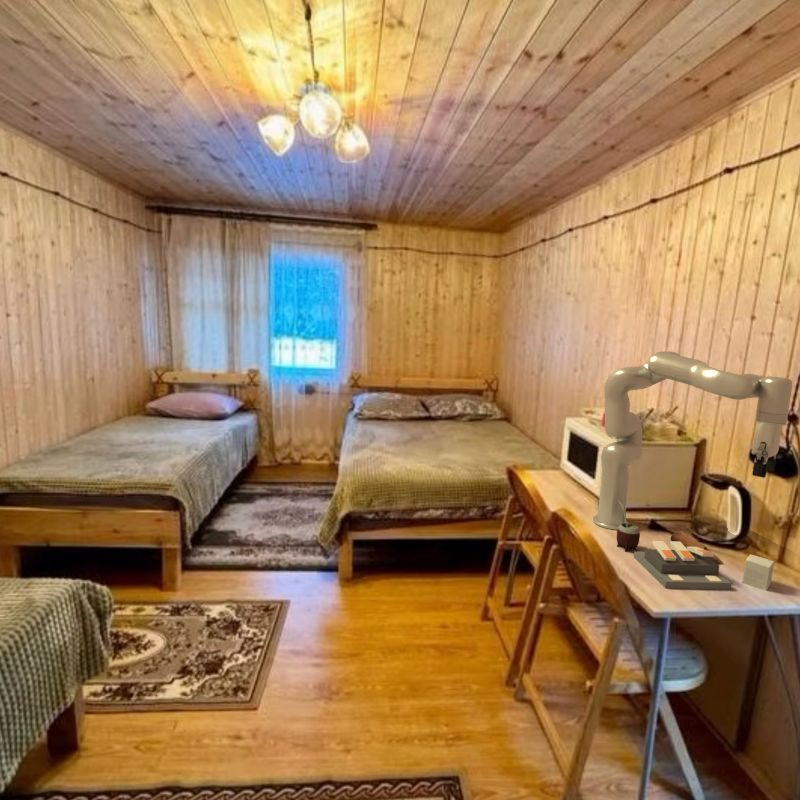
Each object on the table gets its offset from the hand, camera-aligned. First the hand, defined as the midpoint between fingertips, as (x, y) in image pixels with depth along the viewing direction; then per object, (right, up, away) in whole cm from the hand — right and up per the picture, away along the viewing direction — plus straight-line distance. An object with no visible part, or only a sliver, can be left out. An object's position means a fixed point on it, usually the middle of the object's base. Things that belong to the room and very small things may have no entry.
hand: (763, 473), depth 151 cm
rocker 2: (-19, -25, 0) cm, 32 cm away
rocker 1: (-30, -25, +1) cm, 39 cm away
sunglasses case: (-11, -29, +16) cm, 35 cm away
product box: (-5, -32, -4) cm, 33 cm away
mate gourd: (-34, -28, +18) cm, 47 cm away
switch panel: (-25, -31, +1) cm, 39 cm away
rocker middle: (-25, -25, +1) cm, 35 cm away
